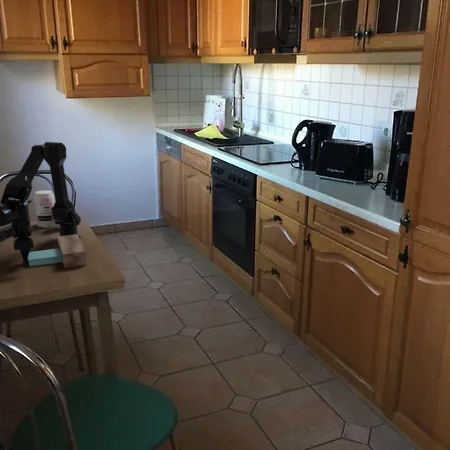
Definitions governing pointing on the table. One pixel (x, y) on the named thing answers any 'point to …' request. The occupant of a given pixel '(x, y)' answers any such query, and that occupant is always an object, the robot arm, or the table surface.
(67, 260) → the block
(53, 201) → the supplement can
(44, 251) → the teal rectangular block
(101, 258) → the table surface
